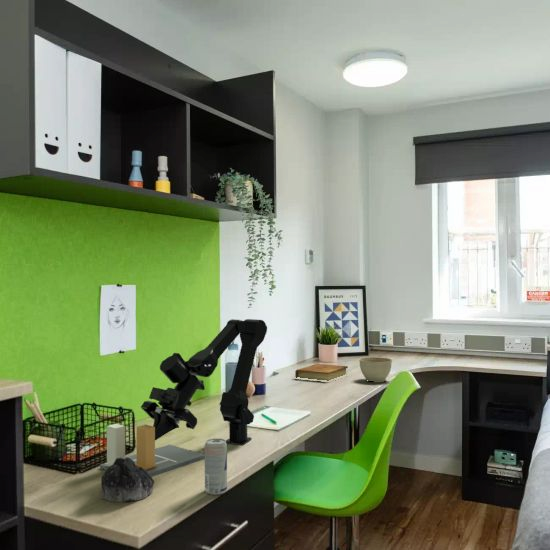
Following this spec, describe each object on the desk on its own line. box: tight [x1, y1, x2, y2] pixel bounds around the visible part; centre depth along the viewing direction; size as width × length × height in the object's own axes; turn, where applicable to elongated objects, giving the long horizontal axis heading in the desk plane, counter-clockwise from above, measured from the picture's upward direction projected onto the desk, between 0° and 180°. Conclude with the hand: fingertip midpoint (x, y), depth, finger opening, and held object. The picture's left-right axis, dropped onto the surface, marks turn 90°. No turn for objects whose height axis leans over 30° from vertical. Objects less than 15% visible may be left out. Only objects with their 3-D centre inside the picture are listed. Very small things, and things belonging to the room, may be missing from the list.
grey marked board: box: [99, 444, 205, 477], centre depth 157 cm, size 24×16×1 cm, turn 140°
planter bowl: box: [358, 356, 393, 383], centre depth 280 cm, size 16×16×11 cm
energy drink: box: [204, 438, 228, 496], centre depth 136 cm, size 5×5×12 cm
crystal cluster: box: [100, 456, 155, 503], centre depth 135 cm, size 13×14×10 cm
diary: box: [294, 363, 349, 381], centre depth 291 cm, size 23×19×6 cm
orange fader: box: [135, 424, 158, 470], centre depth 150 cm, size 4×5×10 cm
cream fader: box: [104, 423, 126, 467], centre depth 151 cm, size 4×5×10 cm
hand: (151, 440), depth 152 cm, fingers closed, pressing on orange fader
